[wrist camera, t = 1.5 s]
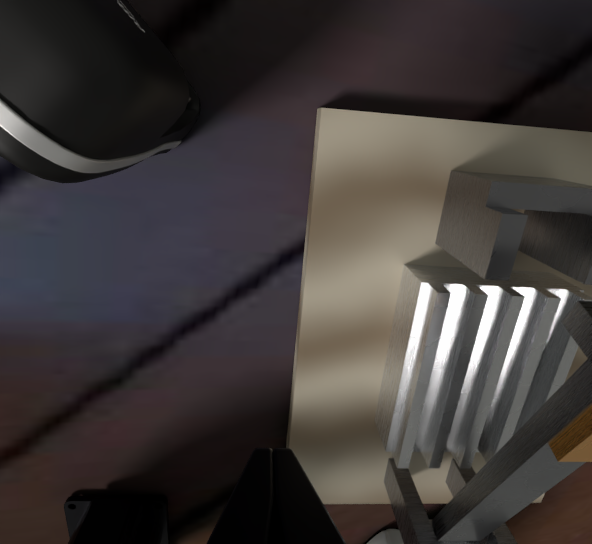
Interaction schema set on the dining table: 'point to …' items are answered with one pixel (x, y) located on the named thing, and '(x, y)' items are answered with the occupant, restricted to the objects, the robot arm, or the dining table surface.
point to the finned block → (471, 360)
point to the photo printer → (387, 537)
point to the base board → (388, 274)
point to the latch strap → (529, 453)
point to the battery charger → (87, 89)
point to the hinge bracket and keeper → (498, 266)
